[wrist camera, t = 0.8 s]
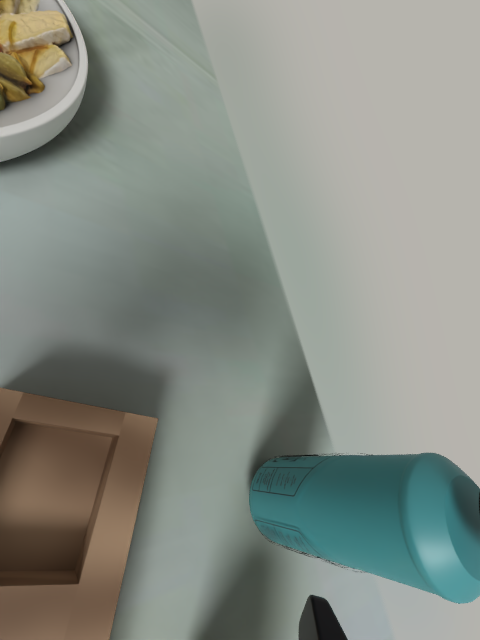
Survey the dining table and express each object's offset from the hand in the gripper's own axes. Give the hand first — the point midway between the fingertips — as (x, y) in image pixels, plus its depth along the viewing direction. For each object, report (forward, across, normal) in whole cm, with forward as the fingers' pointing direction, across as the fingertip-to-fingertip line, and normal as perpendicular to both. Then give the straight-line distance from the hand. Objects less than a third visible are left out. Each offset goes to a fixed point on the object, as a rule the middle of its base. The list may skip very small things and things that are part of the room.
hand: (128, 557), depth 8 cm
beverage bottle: (+18, -7, +12) cm, 23 cm away
